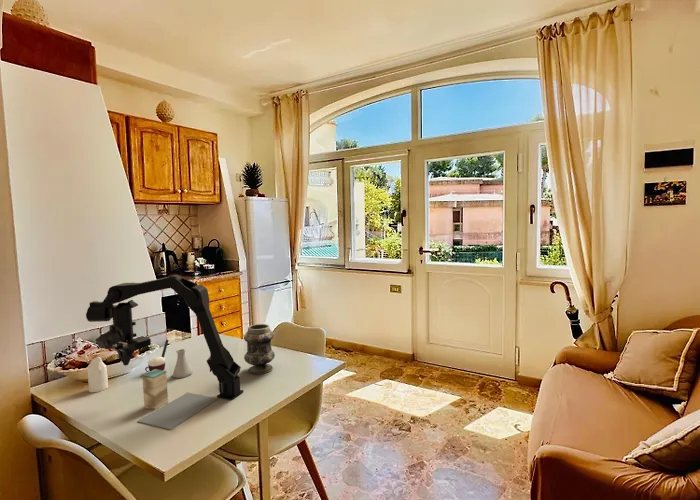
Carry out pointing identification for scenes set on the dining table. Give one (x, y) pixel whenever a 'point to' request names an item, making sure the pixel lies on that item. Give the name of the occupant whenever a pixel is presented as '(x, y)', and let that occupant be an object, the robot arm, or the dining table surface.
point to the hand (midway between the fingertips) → (126, 365)
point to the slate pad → (177, 411)
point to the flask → (182, 365)
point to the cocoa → (157, 361)
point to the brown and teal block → (155, 389)
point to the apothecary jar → (259, 348)
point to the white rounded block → (97, 375)
